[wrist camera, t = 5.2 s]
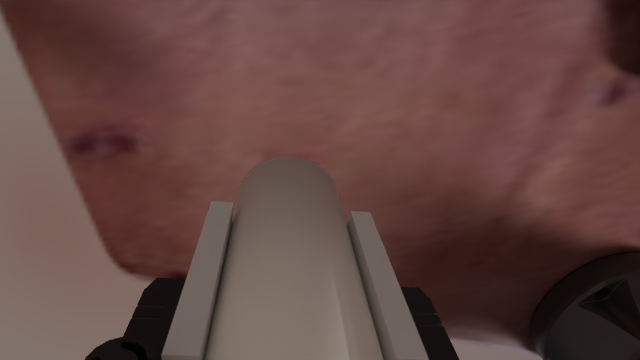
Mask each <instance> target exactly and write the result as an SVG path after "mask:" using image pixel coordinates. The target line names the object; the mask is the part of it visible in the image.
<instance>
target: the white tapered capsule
mask: <svg viewBox="0 0 640 360" xmlns="http://www.w3.org/2000/svg"><path fill="white" fill-rule="evenodd" d="M204 360H384V359H383V355H382V352H381V348H380V345H379V341H378V337H377V334H376V330H375V327H374V323H373V319H372V316H371V312H370V308H369V305H368V301H367V298H366V294H365V290H364V287H363V283H362V280H361V276H360V272H359V269H358V265H357V262H356V258H355V254H354V251H353V247H352V244H351V240H350V236H349V233H348V229H347V225H346V222H345V218H344V215H343V211H342V207H341V204H340V200H339V197H338V193H337V189H336V187H335V184H334V182H333V180H332V178H331V177H330V176H329V174H328V173H327V172H326V171H325V170H324V169H323V168H321V167H320V166H319V165H317V164H316V163H314V162H312V161H309V160H307V159H304V158H300V157H291V156H285V157H277V158H273V159H270V160H267V161H265V162H263V163H261V164H259V165H258V166H256V167H255V168H254V169H252V170H251V171H250V172H249V173H248V174H247V176H246V177H245V178H244V180H243V181H242V184H241V186H240V188H239V192H238V196H237V201H236V206H235V211H234V216H233V220H232V227H231V231H230V236H229V241H228V246H227V251H226V256H225V261H224V265H223V270H222V275H221V280H220V285H219V290H218V295H217V299H216V304H215V309H214V314H213V319H212V324H211V329H210V333H209V338H208V343H207V348H206V353H205V358H204Z"/></svg>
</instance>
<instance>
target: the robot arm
mask: <svg viewBox="0 0 640 360" xmlns="http://www.w3.org/2000/svg"><path fill="white" fill-rule="evenodd" d="M232 215H233V202H220V201H211V204H210V207H209V210H208V213H207V216H206V219H205V222H204V225H203V229H202V232H201V235H200V238H199V241H198V244H197V247H196V250H195V253H194V256H193V259H192V262H191V266H190V269H189V272H188V275H187V278H186V279H174V278H156V279H155V280H154V281H153V282H152V283H151V284H150V285H149V286H148V287H147V288H146V289H145V290H144V291H143V294H142V296H141V298H140V300H139V303H138V306H137V307H136V309H135V311H134V313H133V316H132V319H131V320H130V323H129V325H128V327H127V329H126V332H125V333H124V336H123V337H120V338H116V339H113V340H109V341H107V342H105V343H103V344H102V345H100V346H98V347H96V348H95V349H94V350H93V351H92V352H91V353H90V354H89V355H88V356H87V357H86V358H85V360H204V358H205V353H206V348H207V343H208V338H209V333H210V329H211V324H212V319H213V314H214V309H215V304H216V299H217V295H218V290H219V285H220V280H221V275H222V270H223V265H224V261H225V256H226V251H227V246H228V241H229V236H230V231H231V227H232ZM347 229H348V233H349V236H350V240H351V244H352V247H353V251H354V254H355V258H356V262H357V265H358V269H359V272H360V276H361V280H362V283H363V287H364V290H365V294H366V298H367V301H368V305H369V308H370V312H371V316H372V319H373V323H374V327H375V330H376V334H377V337H378V341H379V345H380V348H381V352H382V355H383V359H384V360H459V358H458V356H457V354H456V352H455V350H454V347H453V345H452V343H451V341H450V339H449V337H448V335H447V333H446V331H445V329H444V327H442V322H441V320H440V318H439V316H437V312H436V310H435V308H434V306H433V304H432V302H431V300H430V299H429V298H428V297H427V296H426V295H425V294H424V293H423V292H422V291H421V290H420V289H419V288H407V287H400V286H399V283H398V281H397V278H396V276H395V273H394V271H393V268H392V266H391V263H390V261H389V258H388V256H387V253H386V251H385V248H384V246H383V243H382V241H381V238H380V236H379V233H378V230H377V228H376V225H375V223H374V220H373V218H372V215H371V213H370V212H362V211H350V216H349V222H348V227H347ZM530 336H531V341H532V344H533V346H534V348H535V349H536V351H537V352H538V354H539V355H540V356H541V358H542V359H543V360H640V252H632V253H622V254H617V255H613V256H609V257H605V258H602V259H600V260H597V261H595V262H592V263H590V264H588V265H586V266H584V267H582V268H580V269H578V270H577V271H575V272H573V273H572V274H570V275H569V276H568V277H566V278H565V279H564V280H562V281H561V282H560V283H559V284H557V285H556V286H555V287H554V288H553V289H552V290H551V291H550V292H549V293H548V294H547V296H546V297H545V298H544V299H543V301H542V302H541V303H540V305H539V307H538V308H537V310H536V312H535V314H534V317H533V319H532V323H531V328H530Z"/></svg>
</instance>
